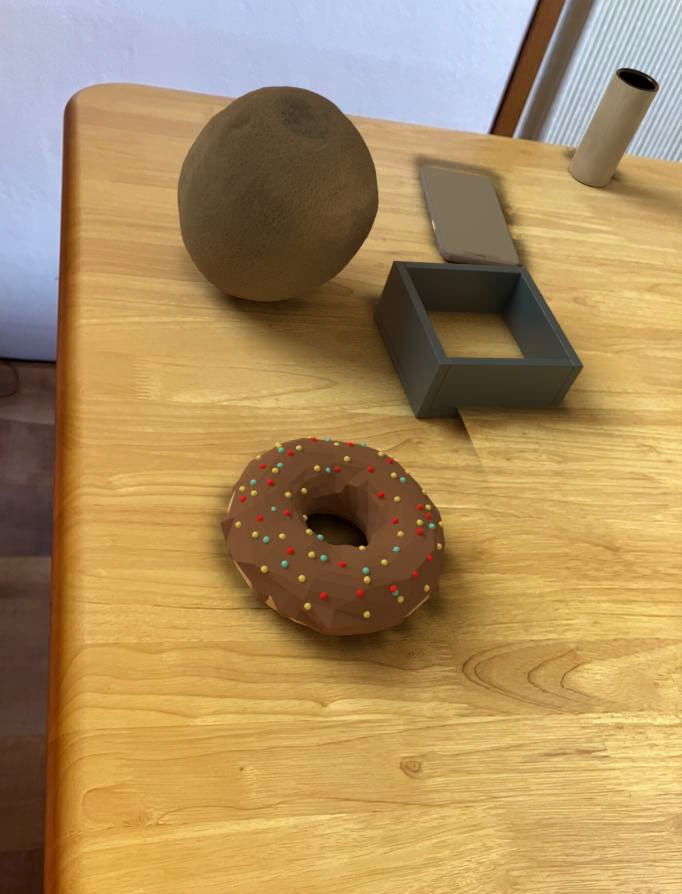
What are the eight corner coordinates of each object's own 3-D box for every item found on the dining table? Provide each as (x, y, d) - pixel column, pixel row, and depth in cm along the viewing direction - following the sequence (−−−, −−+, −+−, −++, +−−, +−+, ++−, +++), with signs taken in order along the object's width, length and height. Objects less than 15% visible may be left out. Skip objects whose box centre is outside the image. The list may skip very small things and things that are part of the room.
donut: (241, 451, 59) (255, 397, 56) (435, 505, 60) (462, 455, 56) (192, 625, 50) (204, 575, 47) (421, 685, 51) (452, 641, 47)
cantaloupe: (194, 349, 65) (227, 158, 53) (150, 232, 72) (171, 43, 61) (366, 340, 69) (431, 163, 58) (308, 232, 77) (356, 56, 65)
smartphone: (492, 176, 88) (523, 266, 79) (488, 185, 89) (518, 275, 79) (419, 163, 86) (442, 253, 77) (416, 172, 87) (439, 262, 78)
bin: (499, 319, 75) (526, 266, 71) (551, 417, 68) (584, 366, 64) (373, 315, 72) (393, 260, 68) (415, 418, 65) (440, 364, 61)
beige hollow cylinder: (567, 179, 93) (616, 80, 85) (568, 158, 96) (616, 62, 88) (608, 192, 93) (661, 95, 85) (607, 172, 96) (659, 76, 88)
